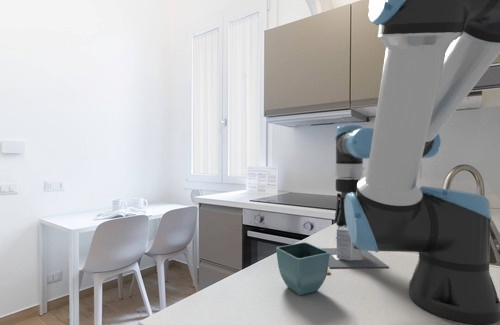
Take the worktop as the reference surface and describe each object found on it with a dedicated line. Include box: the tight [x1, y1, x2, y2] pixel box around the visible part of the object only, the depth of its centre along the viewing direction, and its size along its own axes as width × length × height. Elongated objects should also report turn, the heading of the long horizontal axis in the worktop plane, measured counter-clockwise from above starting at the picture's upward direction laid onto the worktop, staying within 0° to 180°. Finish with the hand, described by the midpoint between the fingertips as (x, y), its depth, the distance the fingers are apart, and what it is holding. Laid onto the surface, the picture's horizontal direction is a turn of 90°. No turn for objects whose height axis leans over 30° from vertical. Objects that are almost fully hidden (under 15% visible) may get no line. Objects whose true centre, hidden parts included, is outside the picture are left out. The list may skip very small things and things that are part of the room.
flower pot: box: [275, 241, 330, 296], centre depth 64 cm, size 9×9×9 cm
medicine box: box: [336, 225, 353, 262], centre depth 85 cm, size 8×4×9 cm, turn 143°
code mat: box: [319, 247, 390, 269], centre depth 85 cm, size 16×16×1 cm
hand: (348, 252), depth 85 cm, fingers open, 11 cm apart
